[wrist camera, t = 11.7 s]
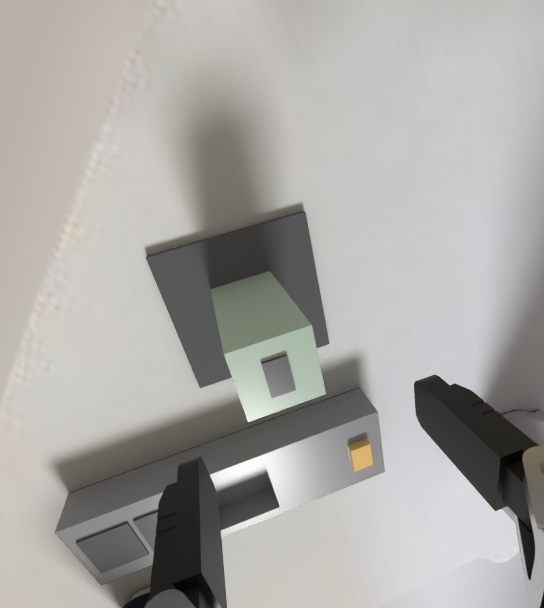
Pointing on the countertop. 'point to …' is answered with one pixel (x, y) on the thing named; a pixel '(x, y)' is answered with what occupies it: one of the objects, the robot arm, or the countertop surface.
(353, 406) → the strip
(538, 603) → the robot arm
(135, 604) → the beverage can
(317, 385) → the block
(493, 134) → the countertop surface
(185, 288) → the mat
